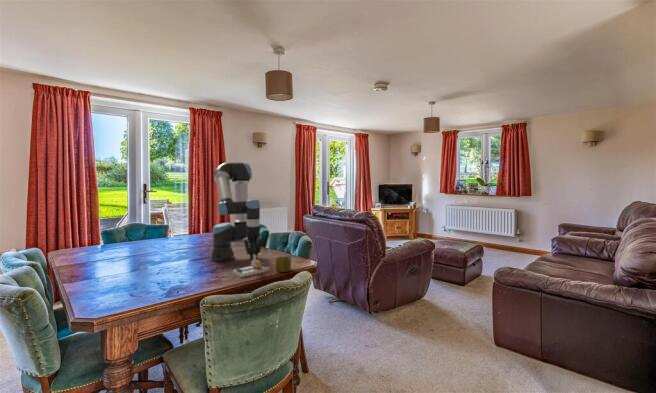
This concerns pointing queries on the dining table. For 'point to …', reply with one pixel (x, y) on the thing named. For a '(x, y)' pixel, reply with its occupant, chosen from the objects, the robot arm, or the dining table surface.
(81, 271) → the dining table surface
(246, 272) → the console
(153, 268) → the dining table surface
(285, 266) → the mug
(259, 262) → the fader
